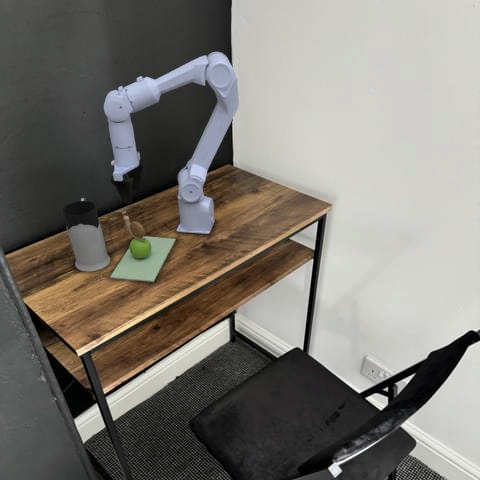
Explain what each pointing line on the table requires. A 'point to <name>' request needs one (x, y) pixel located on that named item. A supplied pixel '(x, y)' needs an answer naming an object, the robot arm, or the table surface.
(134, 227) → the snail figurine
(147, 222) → the table surface
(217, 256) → the table surface
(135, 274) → the desk pad
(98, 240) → the glass holder
